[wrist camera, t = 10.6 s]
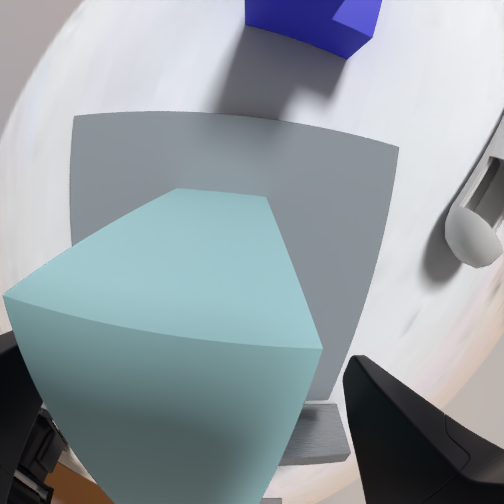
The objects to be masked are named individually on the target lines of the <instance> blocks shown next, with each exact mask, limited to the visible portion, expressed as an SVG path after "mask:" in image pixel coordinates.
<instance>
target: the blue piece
mask: <svg viewBox="0 0 504 504" xmlns="http://www.w3.org/2000/svg"><path fill="white" fill-rule="evenodd" d="M381 3H382V0H245V25H249V26H253V27H257V28H260V29H264V30H268V31H271V32H275V33H278V34H281V35H284V36H287V37H290V38H294V39H296V40H299V41H302V42H305V43H308V44H310V45H313V46H316V47H318V48H321V49H323V50H326V51H328V52H331V53H333V54H336V55H338V56H340V57H342V58H345V59H348V58H349V57H350V56H352V55H353V54H354V53H355V52H356V51H357V50H359V49H360V48H361V47H362V46H363V45H364V44H366V43H367V42H368V41H369V40H370V39H371V38H372V37H373V33H374V30H375V26H376V22H377V19H378V15H379V11H380V7H381Z"/></svg>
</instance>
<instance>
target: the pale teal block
mask: <svg viewBox="0 0 504 504" xmlns="http://www.w3.org/2000/svg"><path fill="white" fill-rule="evenodd" d="M2 296H3V299H4V303H5V307H6V310H7V314H8V317H9V320H10V323H11V326H12V329H13V332H14V335H15V338H16V341H17V343H18V346H19V349H20V351H21V354H22V356H23V359H24V361H25V364H26V366H27V368H28V371H29V373H30V375H31V378H32V380H33V382H34V384H35V386H36V388H37V390H38V392H39V394H40V396H41V398H42V400H43V402H44V404H45V406H46V408H47V410H48V411H49V413H50V415H51V417H52V418H53V420H54V422H55V424H56V425H57V427H58V429H59V430H60V432H61V434H62V435H63V437H64V438H65V440H66V441H67V443H68V444H69V446H70V448H71V449H72V450H73V452H74V453H75V455H76V456H77V458H78V459H79V460H80V462H81V463H82V465H83V466H84V467H85V469H86V470H87V471H88V473H89V474H90V475H91V476H92V478H93V479H94V480H95V481H96V483H97V484H98V485H99V486H100V488H101V489H102V490H103V491H104V492H105V493H106V495H107V496H108V497H109V498H110V499H111V500H112V501H113V502H114V504H259V503H260V501H261V499H262V497H263V495H264V493H265V491H266V489H267V487H268V485H269V483H270V481H271V479H272V477H273V475H274V473H275V471H276V469H277V466H278V464H279V462H280V460H281V458H282V455H283V453H284V451H285V449H286V446H287V444H288V442H289V439H290V437H291V435H292V432H293V430H294V427H295V425H296V422H297V420H298V417H299V415H300V412H301V410H302V407H303V404H304V402H305V399H306V396H307V394H308V391H309V388H310V385H311V383H312V380H313V377H314V374H315V371H316V368H317V365H318V362H319V359H320V356H321V353H322V350H323V347H322V344H321V341H320V339H319V336H318V333H317V330H316V327H315V324H314V322H313V319H312V316H311V313H310V310H309V308H308V305H307V302H306V299H305V297H304V294H303V291H302V289H301V286H300V283H299V280H298V278H297V275H296V272H295V270H294V267H293V265H292V262H291V259H290V257H289V254H288V251H287V249H286V246H285V244H284V241H283V238H282V236H281V233H280V231H279V228H278V226H277V223H276V221H275V218H274V215H273V213H272V210H271V208H270V205H269V203H268V200H267V198H266V197H263V196H255V195H246V194H236V193H227V192H217V191H206V190H194V189H182V188H176V189H174V190H172V191H170V192H168V193H166V194H164V195H162V196H160V197H158V198H156V199H154V200H152V201H150V202H149V203H147V204H145V205H143V206H141V207H139V208H137V209H135V210H134V211H132V212H130V213H128V214H126V215H125V216H123V217H121V218H119V219H117V220H116V221H114V222H112V223H110V224H109V225H107V226H105V227H103V228H102V229H100V230H98V231H97V232H95V233H93V234H92V235H90V236H88V237H87V238H85V239H83V240H82V241H80V242H79V243H77V244H75V245H74V246H72V247H71V248H69V249H67V250H66V251H64V252H63V253H61V254H60V255H58V256H57V257H55V258H54V259H52V260H51V261H49V262H48V263H46V264H45V265H43V266H42V267H40V268H39V269H37V270H36V271H34V272H33V273H32V274H30V275H29V276H27V277H26V278H25V279H23V280H22V281H20V282H19V283H18V284H16V285H15V286H14V287H12V288H11V289H10V290H8V291H7V292H6V293H4V294H3V295H2Z"/></svg>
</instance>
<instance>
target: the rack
mask: <svg viewBox="0 0 504 504" xmlns="http://www.w3.org/2000/svg"><path fill="white" fill-rule="evenodd" d="M39 414H41V415H43V416H45V417H47V418H50V419H52V420H53V418H52V417H51V415H50V413H49V411H48V410H47V408H46V406H45V404H44V402H43V404H42V406H41V408H40V410H39ZM350 454H351V452H350V448H349V445H348V441H347V438H346V434H345V431H344V428H343V424H342V421H341V418H340V414H339V411H338V408H337V404H321V405H303V407H302V410H301V412H300V415H299V417H298V420H297V422H296V425H295V427H294V430H293V432H292V435H291V437H290V439H289V442H288V444H287V446H286V449H285V451H284V453H283V455H282V458H281V460H280V462H279V464H278V466H286V465H310V464H323V463H334V462H342V461H345V460H346V459H347V458H348V456H349V455H350ZM259 504H282V498H271V499H261V501H260V503H259Z"/></svg>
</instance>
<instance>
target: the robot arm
mask: <svg viewBox="0 0 504 504" xmlns="http://www.w3.org/2000/svg"><path fill="white" fill-rule="evenodd" d="M343 388H344V395H345V403H346V411H347V418H348V424H349V429H350V433H351V437H352V441H353V445H354V449H355V454H356V458H357V463H358V467H359V471H360V476H361V481H362V485H363V490H364V495H365V500H366V504H504V449H502V448H500V447H498V446H497V445H495V444H493V443H491V442H489V441H487V440H486V439H484V438H482V437H480V436H479V435H477V434H475V433H473V432H472V431H470V430H468V429H467V428H465V427H464V426H462V425H461V424H459V423H458V422H456V421H455V420H453V419H452V418H451V417H449V416H448V415H446V414H445V415H444V413H443V412H442V411H441V410H439V409H438V408H436V407H435V406H434V405H432V404H431V403H429V402H428V401H427V400H425V399H424V398H423V397H421V396H420V395H418V394H417V393H416V392H414V391H413V390H411V389H410V388H409V387H407V386H406V385H405V384H403V383H402V382H400V381H399V380H398V379H396V378H395V377H394V376H392V375H391V374H389V373H388V372H387V371H385V370H384V369H383V368H381V367H380V366H379V365H377V364H376V363H375V362H373V361H372V360H370V359H369V358H368V357H366V356H364V355H354V356H352V357H351V358H350V360H349V363H348V365H347V367H346V370H345V372H344V375H343ZM42 404H43V400H42V398H41V396H40V394H39V392H38V390H37V388H36V386H35V384H34V382H33V380H32V378H31V375H30V373H29V371H28V368H27V366H26V364H25V361H24V359H23V356H22V354H21V351H20V349H19V346H18V343H17V341H16V338H15V335H14V332H13V330H12V331H10V332H7V333H5V334H2V335H0V504H51V499H52V495H53V491H54V489H53V488H52V487H50V486H47V485H46V484H44V481H45V479H46V476H47V474H48V473H50V474H51V473H52V472H53V470H54V468H55V465H56V463H57V461H58V459H59V457H60V455H61V453H62V450H64V451H67V450H68V447H67V445H66V444H65V442H64V441H63V439H62V438H61V436H60V435H59V433H58V432H57V430H56V428H55V427H54V425H53V423H52V422H51V420H50V418H47V417H45V416H43V415H41V414H39V410H40V408H41V406H42ZM14 474H15V475H17V476H18V477H19V478H21V479H22V480H23V481H25V482H26V483H27V484H29V485H30V486H32V487H33V488H35V489H36V491H35V490H33V489H32V488H30V487H29V486H27V485H26V484H24V483H23V482H22V481H20V480H19V479H18V478H16V477H15V476H14Z"/></svg>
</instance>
